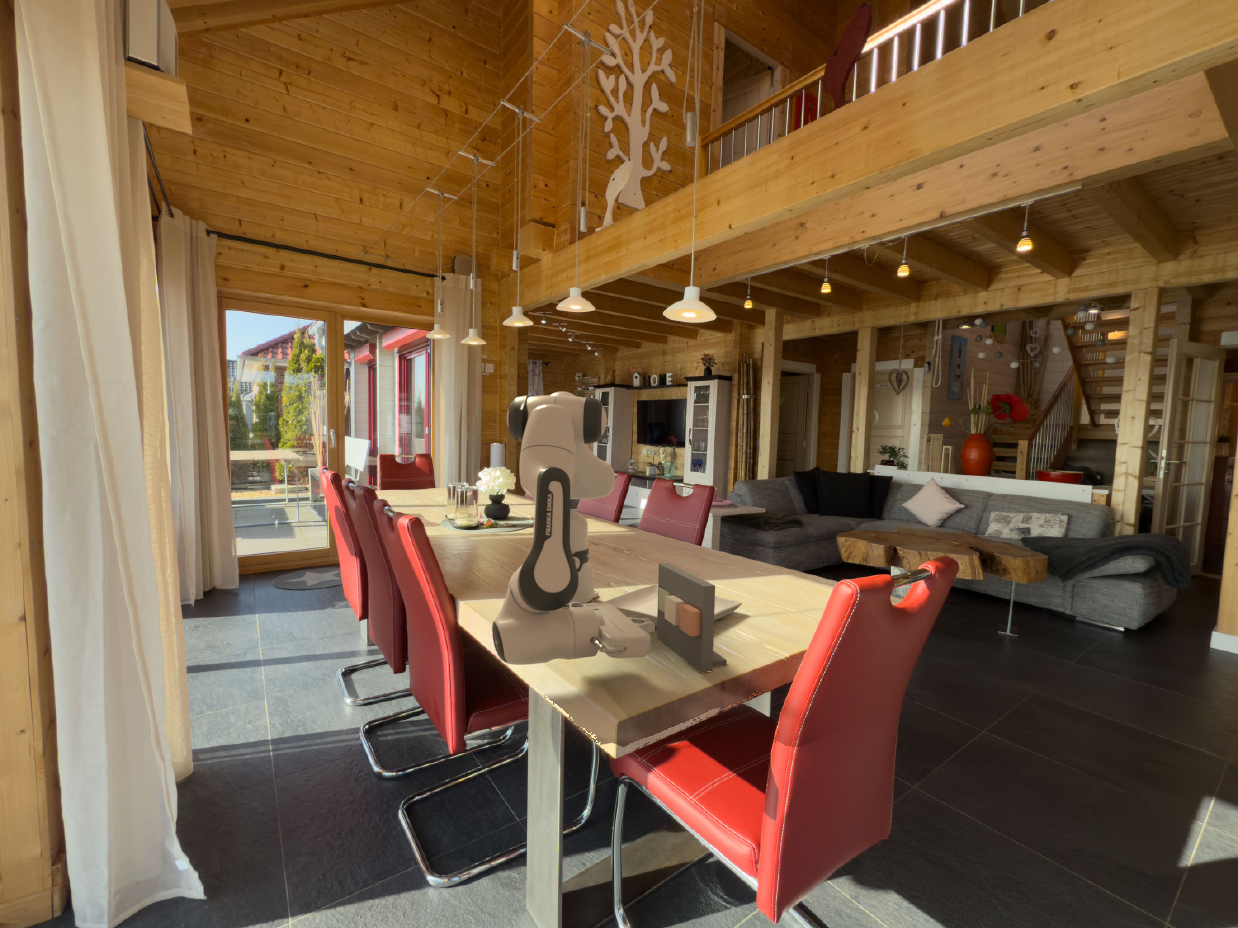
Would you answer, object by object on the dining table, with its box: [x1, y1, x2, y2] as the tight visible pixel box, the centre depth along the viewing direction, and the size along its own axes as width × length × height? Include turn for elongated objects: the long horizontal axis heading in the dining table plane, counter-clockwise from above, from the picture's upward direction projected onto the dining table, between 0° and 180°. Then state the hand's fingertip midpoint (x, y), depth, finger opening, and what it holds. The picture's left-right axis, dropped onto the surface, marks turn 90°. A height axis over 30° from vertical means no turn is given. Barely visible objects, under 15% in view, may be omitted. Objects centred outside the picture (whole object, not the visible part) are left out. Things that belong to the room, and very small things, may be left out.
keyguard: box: [656, 562, 728, 674], centre depth 118 cm, size 20×7×17 cm, turn 22°
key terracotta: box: [679, 604, 701, 636], centre depth 110 cm, size 5×4×5 cm
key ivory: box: [665, 595, 685, 626], centre depth 116 cm, size 5×4×5 cm
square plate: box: [601, 583, 742, 628], centre depth 143 cm, size 27×27×4 cm
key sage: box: [658, 587, 670, 613], centre depth 123 cm, size 5×4×5 cm
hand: (651, 624), depth 107 cm, fingers closed
